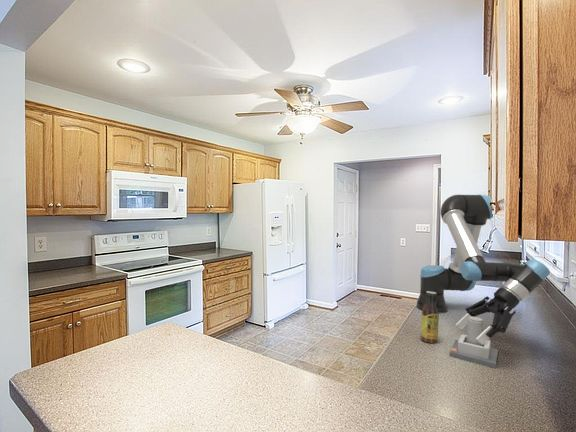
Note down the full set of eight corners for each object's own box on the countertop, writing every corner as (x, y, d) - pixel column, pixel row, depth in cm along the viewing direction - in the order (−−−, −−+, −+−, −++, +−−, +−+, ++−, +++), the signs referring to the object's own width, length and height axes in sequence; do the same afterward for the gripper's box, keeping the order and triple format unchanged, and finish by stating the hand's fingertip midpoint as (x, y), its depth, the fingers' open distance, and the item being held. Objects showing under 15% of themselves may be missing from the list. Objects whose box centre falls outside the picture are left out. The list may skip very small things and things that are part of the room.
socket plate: (455, 343, 123) (456, 331, 123) (497, 353, 115) (498, 340, 115) (449, 356, 112) (449, 342, 112) (495, 368, 104) (496, 353, 104)
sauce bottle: (428, 344, 122) (429, 294, 122) (417, 338, 128) (418, 290, 128) (441, 343, 124) (442, 293, 123) (430, 337, 130) (431, 290, 129)
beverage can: (468, 346, 117) (469, 315, 117) (482, 350, 114) (484, 318, 114) (465, 350, 113) (466, 318, 113) (481, 355, 110) (482, 321, 110)
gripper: (545, 312, 101) (497, 357, 101) (495, 292, 126) (457, 328, 126) (529, 296, 101) (481, 340, 101) (482, 279, 126) (444, 315, 126)
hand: (468, 334), depth 114 cm, fingers open, 13 cm apart
